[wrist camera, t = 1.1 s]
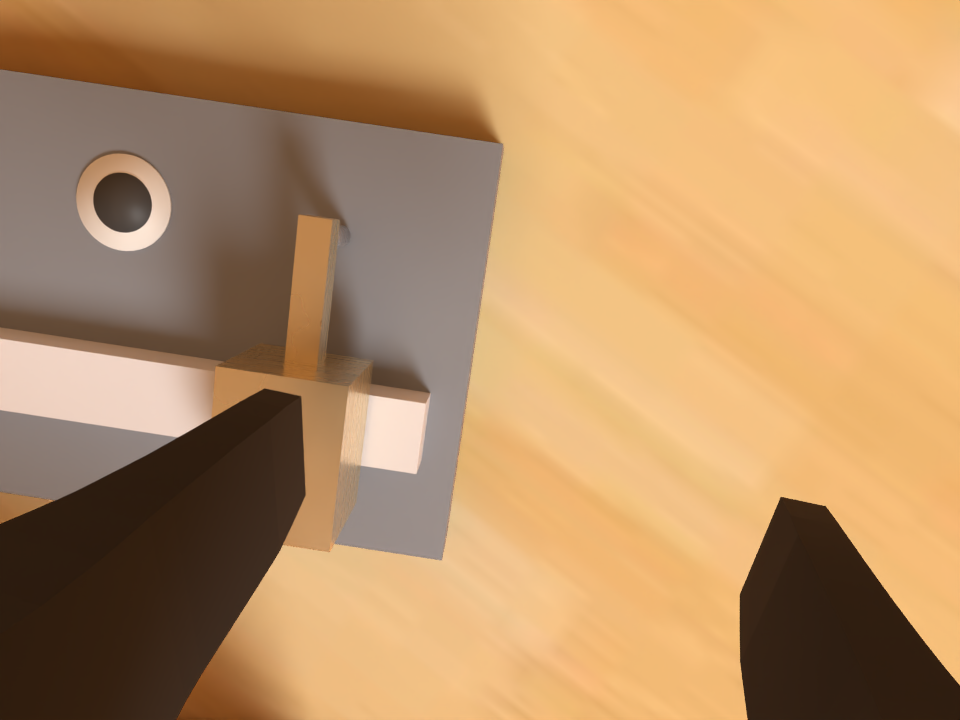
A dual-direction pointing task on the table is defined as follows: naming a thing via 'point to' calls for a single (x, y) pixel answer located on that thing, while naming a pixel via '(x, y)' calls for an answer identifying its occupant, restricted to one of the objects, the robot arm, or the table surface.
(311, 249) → the sliding trammel head
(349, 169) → the plate
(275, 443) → the robot arm
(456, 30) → the table surface
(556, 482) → the table surface
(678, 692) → the table surface
